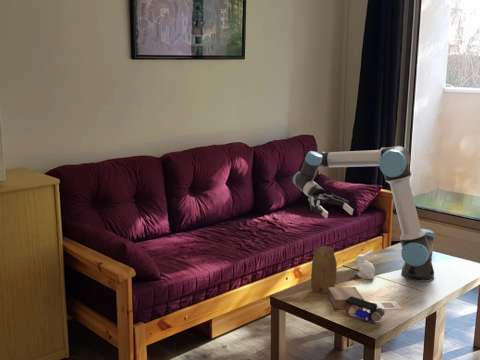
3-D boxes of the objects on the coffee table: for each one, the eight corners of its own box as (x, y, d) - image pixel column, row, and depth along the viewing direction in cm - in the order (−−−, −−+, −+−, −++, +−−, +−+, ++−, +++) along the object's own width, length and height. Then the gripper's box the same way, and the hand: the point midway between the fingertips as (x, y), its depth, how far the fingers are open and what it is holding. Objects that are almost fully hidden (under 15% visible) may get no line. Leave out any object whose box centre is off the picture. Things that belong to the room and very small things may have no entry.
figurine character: (383, 324, 234) (348, 310, 242) (386, 307, 232) (351, 293, 239) (377, 330, 228) (341, 316, 236) (380, 313, 226) (344, 299, 234)
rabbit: (352, 272, 284) (354, 249, 281) (369, 271, 287) (371, 247, 284) (365, 282, 273) (367, 257, 270) (382, 280, 276) (384, 255, 273)
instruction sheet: (394, 301, 252) (394, 300, 252) (401, 309, 244) (401, 308, 244) (360, 302, 250) (360, 301, 250) (366, 310, 243) (366, 309, 243)
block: (320, 295, 256) (323, 252, 252) (308, 290, 262) (310, 247, 257) (337, 290, 262) (340, 247, 258) (325, 284, 268) (328, 243, 264)
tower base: (354, 297, 255) (355, 287, 254) (362, 310, 242) (363, 299, 241) (327, 298, 254) (328, 287, 253) (334, 311, 241) (335, 299, 240)
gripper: (334, 196, 283) (360, 218, 266) (290, 201, 272) (314, 224, 256) (338, 182, 280) (364, 203, 263) (293, 187, 269) (317, 209, 252)
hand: (339, 213), depth 259 cm, fingers open, 13 cm apart
